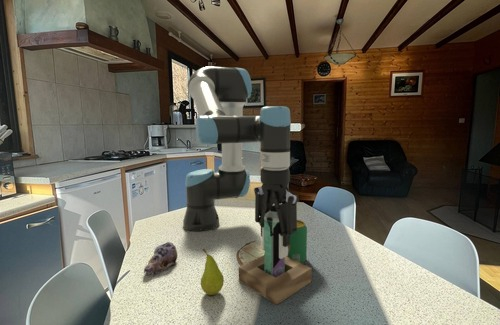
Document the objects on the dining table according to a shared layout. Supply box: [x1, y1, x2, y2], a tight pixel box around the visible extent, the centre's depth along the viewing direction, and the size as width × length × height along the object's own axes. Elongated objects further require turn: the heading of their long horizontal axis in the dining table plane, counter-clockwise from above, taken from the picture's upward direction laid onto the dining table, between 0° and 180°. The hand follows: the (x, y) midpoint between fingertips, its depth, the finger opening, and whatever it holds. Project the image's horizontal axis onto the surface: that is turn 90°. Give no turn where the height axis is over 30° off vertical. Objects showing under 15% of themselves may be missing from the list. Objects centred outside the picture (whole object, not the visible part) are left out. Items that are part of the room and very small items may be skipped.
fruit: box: [200, 248, 224, 296], centre depth 68 cm, size 6×6×12 cm
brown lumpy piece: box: [143, 241, 178, 277], centre depth 82 cm, size 12×8×6 cm, turn 152°
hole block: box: [237, 254, 313, 306], centre depth 74 cm, size 14×14×4 cm
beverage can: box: [287, 219, 308, 264], centre depth 85 cm, size 8×8×12 cm
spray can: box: [263, 204, 285, 278], centre depth 73 cm, size 6×6×20 cm
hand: (274, 252), depth 73 cm, fingers closed on spray can, 5 cm apart
